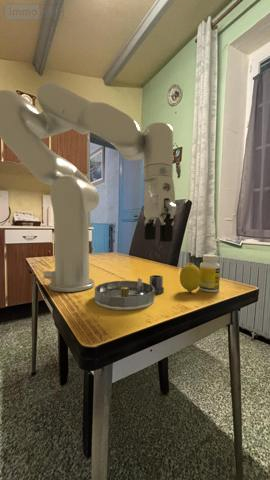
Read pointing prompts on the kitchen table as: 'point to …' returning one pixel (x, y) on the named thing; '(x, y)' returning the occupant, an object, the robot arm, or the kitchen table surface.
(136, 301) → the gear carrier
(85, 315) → the kitchen table surface
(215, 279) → the supplement bottle
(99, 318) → the kitchen table surface
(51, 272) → the robot arm
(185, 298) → the kitchen table surface
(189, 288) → the lemon
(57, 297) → the kitchen table surface
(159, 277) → the gear
